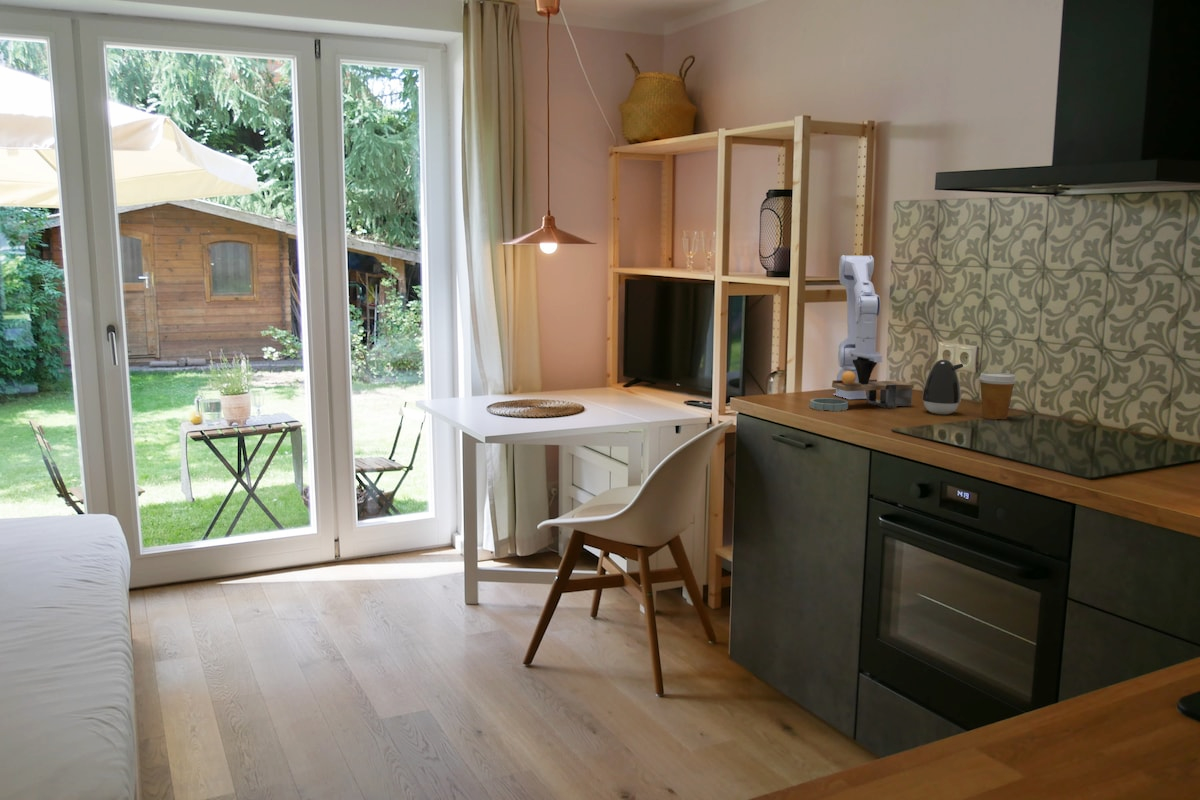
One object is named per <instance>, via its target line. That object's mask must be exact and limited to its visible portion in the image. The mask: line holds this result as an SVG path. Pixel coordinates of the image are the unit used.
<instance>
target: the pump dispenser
mask: <svg viewBox="0 0 1200 800" xmlns="http://www.w3.org/2000/svg"><path fill="white" fill-rule="evenodd" d="M963 367H964V365H963V363H959V364H954V365H953V363H952V362H951V361H950V360H948V359H939V360H937V361H936V362H935V363H934V364H933V366H932V367H931V369H930V371H929V373H928V375H927V377H926V379H925V382H924V383H925V384H924V386H923V387H924V388H923V392H922V401H923V405H924V408H925V409H926V410H927V411H928V412H929V413H931V414H934V413H935V415H951V414H953V413H954V412H956V410H957V409H958V407H959V405H960V403H961V401H962V399H961V398H962V395H961V394H962V392H961V386H960V385H961V384H960V379H959V376H958V372H957V371H958V370H959V369H961V368H963Z"/></svg>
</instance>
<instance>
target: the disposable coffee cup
mask: <svg viewBox="0 0 1200 800" xmlns="http://www.w3.org/2000/svg"><path fill="white" fill-rule="evenodd" d="M978 380H979V382H980V398H981V399H980V400H981V412H982V413H981V415H982V418H985V419H987V420H988V419H989V420H997V419H1002V420H1006V419H1008V415H1009V414H1008V413H1009V409H1010V406H1011V405H1010V404H1011V399H1012V395H1013V391H1014V386H1015V384H1016V381H1017V379H1016V376H1015V374H1013V373H1004V372H991V371H990V372H989V371H988V372H981V373H980V375H979V377H978Z"/></svg>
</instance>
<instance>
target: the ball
mask: <svg viewBox="0 0 1200 800" xmlns="http://www.w3.org/2000/svg"><path fill="white" fill-rule="evenodd" d="M855 380H856V376H855V374H854V373H853V372H851V371H846V372H844V373H843V375H842V381H843V383H845V384H853V383H854V382H855Z"/></svg>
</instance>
